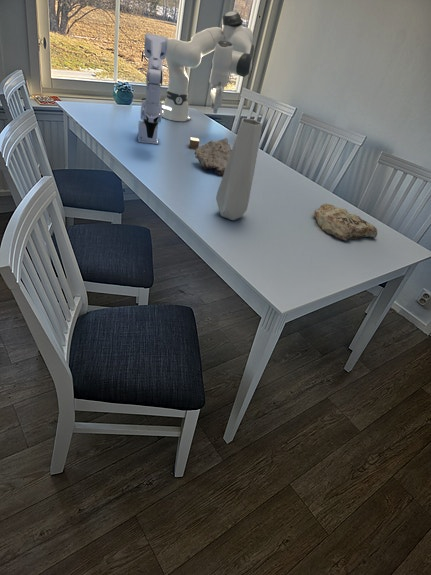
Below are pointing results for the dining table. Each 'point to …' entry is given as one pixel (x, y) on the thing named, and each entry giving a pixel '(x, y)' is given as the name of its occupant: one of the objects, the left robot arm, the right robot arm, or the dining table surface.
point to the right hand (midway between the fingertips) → (213, 110)
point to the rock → (214, 155)
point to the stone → (343, 223)
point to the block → (194, 143)
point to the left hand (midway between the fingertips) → (150, 134)
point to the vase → (239, 171)
